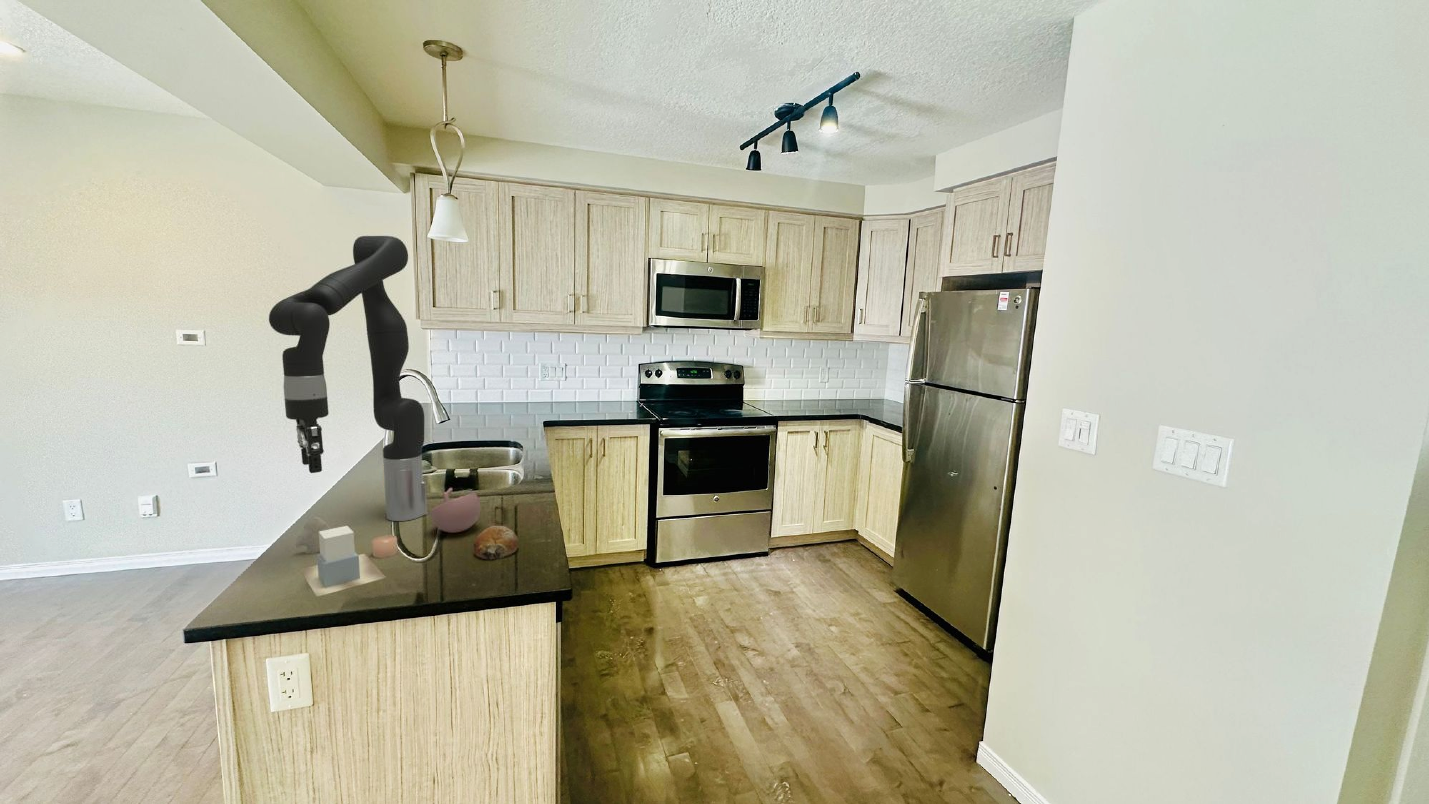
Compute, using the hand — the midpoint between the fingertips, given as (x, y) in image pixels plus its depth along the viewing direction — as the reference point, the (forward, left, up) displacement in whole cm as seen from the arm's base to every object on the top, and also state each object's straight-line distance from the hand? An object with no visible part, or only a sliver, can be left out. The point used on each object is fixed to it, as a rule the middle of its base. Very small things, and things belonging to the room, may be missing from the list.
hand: (312, 468), depth 123 cm
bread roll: (-31, +21, -22) cm, 44 cm away
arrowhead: (0, -2, -22) cm, 22 cm away
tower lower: (0, +16, -20) cm, 26 cm away
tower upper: (0, +16, -15) cm, 22 cm away
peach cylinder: (-11, +9, -22) cm, 26 cm away
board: (-1, +14, -22) cm, 26 cm away
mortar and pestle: (-29, +2, -22) cm, 37 cm away
